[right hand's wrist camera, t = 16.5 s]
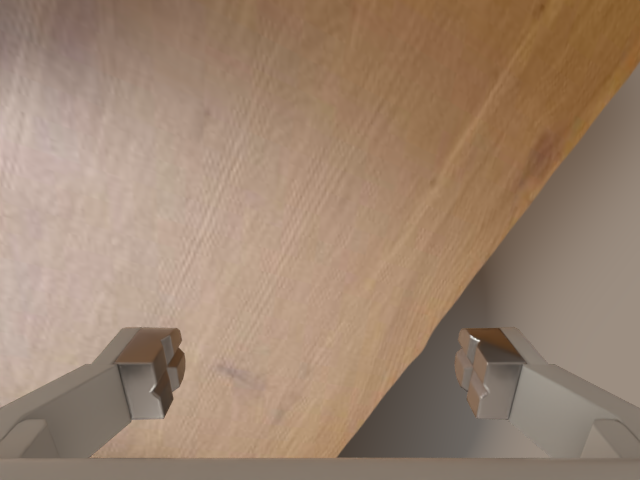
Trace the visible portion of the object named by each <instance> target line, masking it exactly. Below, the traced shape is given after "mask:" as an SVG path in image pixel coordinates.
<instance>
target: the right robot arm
mask: <svg viewBox="0 0 640 480" xmlns="http://www.w3.org/2000/svg"><path fill="white" fill-rule="evenodd" d="M181 341H182V338H181V333H180V330H179V329H177V328H149V327H143V328H142V327H126V328H123V329H121V330H120V332H119V333H118V334H117V335H116V336H115V337H114V339H113V340H112V341H111V342H110V343H109V344H108V345H107V347H106V348H105V349H104V350H103V351H102V352H101V354H100V355H99V356H98V357H97V358H96V359H95V360H94V362H93V363H92V364H85V365H83V366H81V367H79V368H77V369H75V370H73V371H72V372H70V373H68V374H66V375H64V376H62V377H60V378H58V379H56V380H54V381H52V382H50V383H48V384H46V385H44V386H42V387H40V388H38V389H36V390H34V391H33V392H31V393H29V394H27V395H25V396H23V397H21V398H19V399H17V400H15V401H13V402H11V403H9V404H7V405H5V406H3V407H1V408H0V480H640V408H638V407H636V406H635V405H633V404H631V403H629V402H627V401H625V400H623V399H621V398H619V397H617V396H615V395H613V394H611V393H609V392H607V391H605V390H603V389H601V388H600V387H598V386H596V385H594V384H592V383H590V382H588V381H586V380H584V379H582V378H580V377H578V376H576V375H574V374H572V373H570V372H568V371H566V370H565V369H563V368H561V367H559V366H557V365H555V364H548V363H547V362H546V361H545V359H544V358H543V357H542V356H541V355H540V354H539V352H538V351H537V350H536V349H535V348H534V347H533V345H532V344H531V343H530V342H529V341H528V340H527V339H526V337H525V336H524V335H523V334H522V333H521V332H520V330H519V329H517V328H515V327H501V328H463V329H461V331H460V333H459V338H458V341H459V343H460V345H461V347H462V348H461V349H460V350H459V351H458V352H457V353H456V356H455V373H456V377H457V380H458V382H459V384H460V386H461V387H462V388H463V389H464V390H466V391H467V392H468V394H467V401H468V403H469V405H470V407H471V409H472V411H473V413H474V415H475V417H476V419H499V420H509V422H510V423H511V424H512V425H513V426H515V427H516V428H517V429H518V430H519V431H520V432H522V433H523V434H524V435H525V436H526V437H527V438H529V439H530V440H531V441H532V442H533V443H535V444H536V445H537V446H538V447H539V448H540V449H542V450H543V451H544V452H545V453H546V454H547V455H549V456H550V457H551V458H89V457H90V456H92V455H93V454H94V453H95V452H96V451H97V450H99V449H100V448H101V447H102V446H103V445H104V444H106V443H107V442H108V441H109V440H110V439H111V438H113V437H114V436H115V435H116V434H117V433H119V432H120V431H121V430H122V429H123V428H124V427H126V426H127V425H128V424H129V423H130V422H131V420H140V419H164V417H165V415H166V413H167V411H168V409H169V407H170V405H171V403H172V401H173V394H172V392H173V391H174V390H176V389H177V388H178V387H180V384H181V382H182V380H183V377H184V372H185V355H184V353H183V352H182V351H181V350H180V349H179V348H178V347H179V345H180V343H181Z"/></svg>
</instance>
